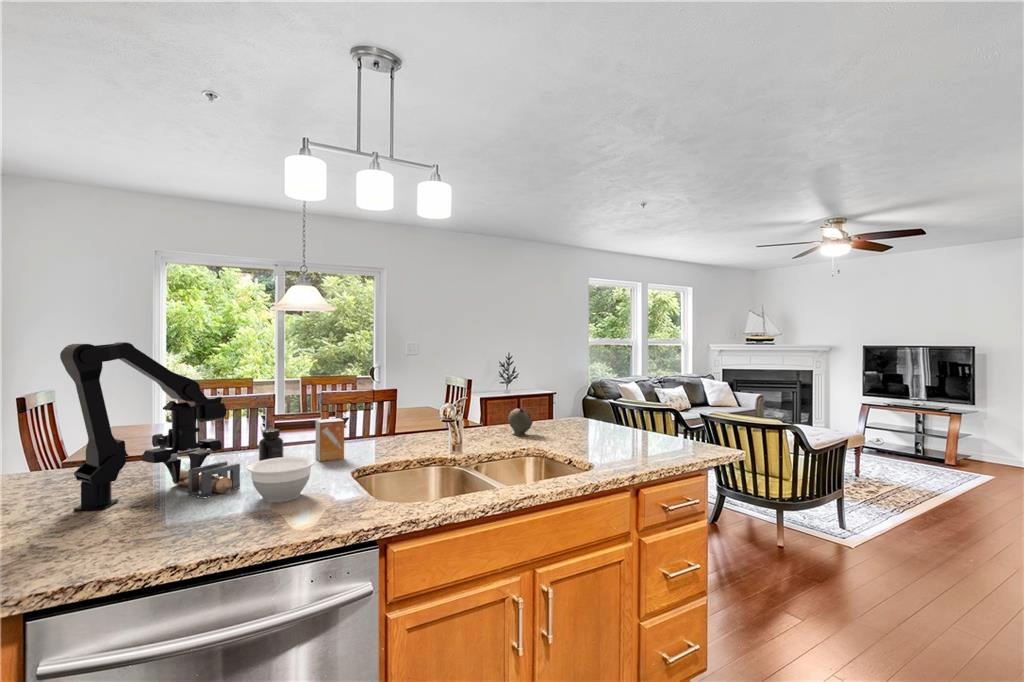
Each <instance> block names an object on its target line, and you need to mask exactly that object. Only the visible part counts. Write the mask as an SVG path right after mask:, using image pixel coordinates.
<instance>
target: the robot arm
mask: <svg viewBox="0 0 1024 682" xmlns="http://www.w3.org/2000/svg"><path fill="white" fill-rule="evenodd" d="M59 355H60V356H59V358H60V360H61V363H62V364H63V367H64V369H65V371H66V373H67V375H68V376H70V378H71V379H72V381H73V382H74V384H75V388H76V392H77V397H78V400H79V404H80V410H81V413H82V418H83V422H84V425H85V429H86V434H87V440H88V442H87V445H86V447H85V448H86V449H85V462H84V463H83V464H81V465H80V466H79V467H78V469H76V470H75V472H73V476H74V477H75V479H76V481H77V482H80V505H78V506H76V507H74V508H73V509H72V511H74V512H76V511H77V512H79V511H97V510H105V509H107V508H109V507H110V506H112V505H114V504H116V503H118V502H119V499H118V498H112V496H113V495H112V483H113V482H115V481H117V479H118V477H119V474H120V472H121V470H123V468H124V467H125V465H126V463H127V458H128V457H129V454H128V453H127V451H126V443H125V442H126V441H125V440H121V439H117V438H116V437H114V435H113V433H112V429H111V424H110V420H109V415H108V412H107V408H106V407H107V406H106V402H105V398H104V394H103V389H102V386H101V380H100V379H101V374H102V370H103V363H105V362H109V361H115V360H120V361H121V362H123V363H124V364H126V365H128V366H129V367H131V368H133V369H134V370H136V371H138V372H139V373H141V374H143V375H144V376H145V377H147V378H149V379H150V380H152V381H154V382H155V383H156V384H157V385H159V386H160V388H161V390H162V391H163V392H164V393H165V394H166V395H167V396H168V397H169V398H171V399H172V400H170V401H169V402H168V403H166V404H165V406H163V407H162V410H165V411H171V428H169V429H168V432H167V433H168V434H166V435H163V434H162V433H157V434H154V435H152V436H151V444H152V447H154V448H152V449H147V450H145V451H144V452H143V454H142V457H141V458H142V462H143V463H144V462H146V463H152V464H159V463H163V464H164V465H165V467H166V468H167V470H168V472H169V474H170V476H171V479H172V478H173V481H174V483H176V484H177V483H178V482H179V478H180V470H181V465H182V459H180V458H178V456H179V455H184V454H187V455H188V458H189V469H193V468H198V467H202V464H204V462H205V460H206V458H207V457H208V456H210V455H211V452H215V451H221V450H223V442H222V441H221V440H220V439H216V438H206V439H200V440H198V441H197V437H198V435H197V433H198V432H200V430H201V429H200V427H197V421H199V423H207V422H213V421H214V422H215V421H220V420H221V421H222V420H224V419H225V417H226V415H227V408H226V404H225V403H224V402H223V399H222V396H212V397H207V396H206V395H205V394H204V393H203V391H202V390H201V385H200V383H199V382H197V381H196V380H195V379H194V380H193V379H192V378H189V377H188V376H184V375H181V374H178V373H176V372H174V371H171V370H170V369H168V368H167V367H165V366H164V365H163V364H161V363H159V362H158V361H156V360H154V359H153V358H152V357H150V356H148V355H147V354H146V353H144V352H142V351H141V350H139V349H138V348H137V347H135V346H134V345H133V344H132V343H130V342H127V341H124V342H120V341H119V342H114V343H109V344H108V343H107V344H98V345H96V344H95V345H94V344H92V343H91V344H90V343H71V344H68V345H66V346H65V347H64V348H63V349H62V350H61V352H60V353H59ZM176 400H178V401H183V402H177V401H176ZM190 403H194V404H190ZM207 449H208V450H210V451H211V452H208V450H207ZM126 457H127V458H126ZM173 481H172V482H173ZM174 483H173V484H174ZM176 484H175V485H176Z"/></svg>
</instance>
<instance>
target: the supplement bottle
mask: <svg viewBox="0 0 1024 682" xmlns="http://www.w3.org/2000/svg"><path fill="white" fill-rule="evenodd" d="M280 432H281V431H280V429H279V428H268V429H264V430H262V438H261V439H260V440H259V441H258V442H259V443H258V461H261V460H266V459H272V458H280V457H284V440H283V439H282V437H280V436H281V434H280Z"/></svg>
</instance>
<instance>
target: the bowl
mask: <svg viewBox="0 0 1024 682" xmlns="http://www.w3.org/2000/svg"><path fill="white" fill-rule="evenodd" d="M315 464H316V461H315V460H314V459H313V458H310V457H305V456H283V457H280V458H272V459H266V460H261V461H259V460H258V461H255V462H251V464H249V465H247V467H246V470H247V472H250V474H251V480H252V484H253V487H254V488H255V489H256V491H257V493H258V494H259V495H260V496H261V497H262V501H263V500H264V501H263V502H265V501H266V503H271V502H277V503H283V502H284V501H286V502H290V501H293V499H294V500H296V499H298V498H300V497H301V493H302V491H303V490H304V488H305V487H306V485H307V483H308V482H309V480H310V476H311V468H312V466H314V465H315ZM289 500H290V501H289ZM284 503H285V502H284Z"/></svg>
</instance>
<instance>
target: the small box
mask: <svg viewBox="0 0 1024 682" xmlns="http://www.w3.org/2000/svg"><path fill="white" fill-rule="evenodd" d="M316 458H317V459H318V460H317V459H316ZM315 459H316V460H317V461H319V462H325V461H326V460H327V461H337V460H344V459H345V420H344V419H342V418H337V417H336V418H328V419H327V418H326V419H315ZM336 459H337V460H336Z"/></svg>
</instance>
